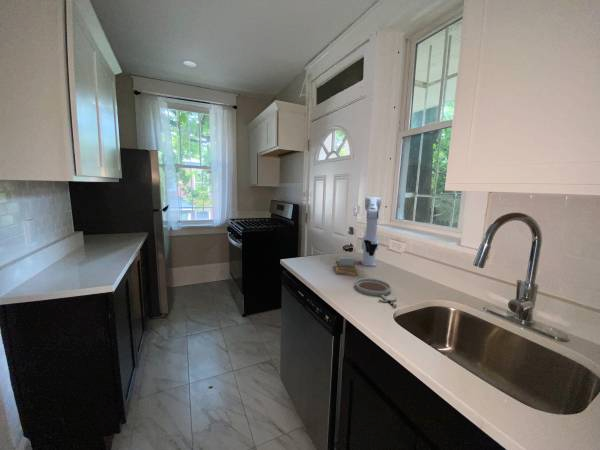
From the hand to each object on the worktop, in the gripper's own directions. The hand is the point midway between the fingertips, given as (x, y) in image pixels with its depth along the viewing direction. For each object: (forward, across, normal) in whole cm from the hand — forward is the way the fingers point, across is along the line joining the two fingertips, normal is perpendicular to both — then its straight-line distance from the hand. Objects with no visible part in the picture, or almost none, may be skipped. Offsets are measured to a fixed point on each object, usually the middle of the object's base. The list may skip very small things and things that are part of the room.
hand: (369, 253), depth 145 cm
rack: (+10, 0, -13) cm, 17 cm away
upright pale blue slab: (+10, 0, -13) cm, 17 cm away
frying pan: (+12, +30, -2) cm, 33 cm away
